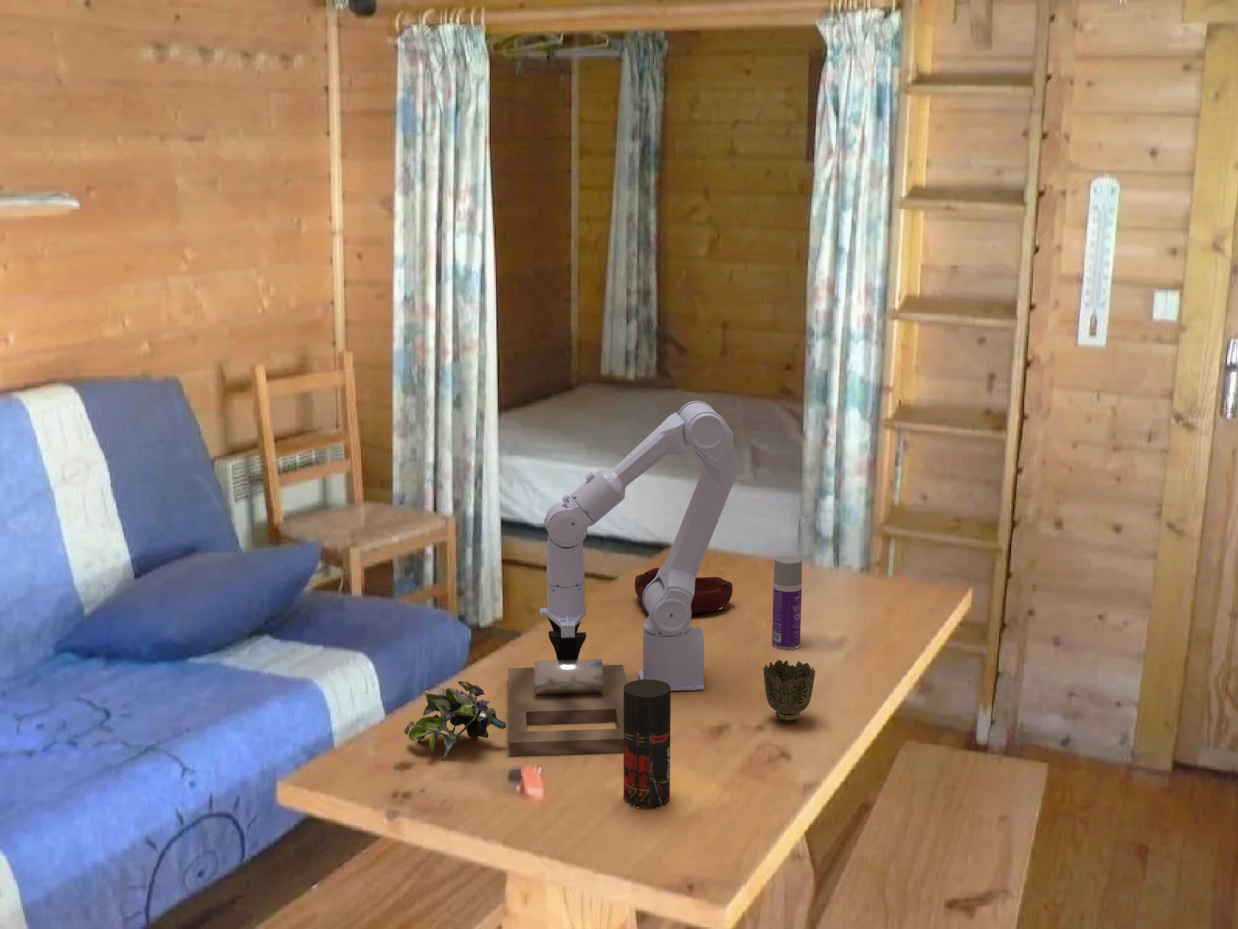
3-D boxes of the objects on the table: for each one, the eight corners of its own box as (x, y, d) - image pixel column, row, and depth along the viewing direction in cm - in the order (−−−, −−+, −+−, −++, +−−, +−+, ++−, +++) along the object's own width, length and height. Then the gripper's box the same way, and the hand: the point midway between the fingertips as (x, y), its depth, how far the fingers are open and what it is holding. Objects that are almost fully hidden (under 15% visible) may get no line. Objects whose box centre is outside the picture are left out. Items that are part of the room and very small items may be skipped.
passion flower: (473, 775, 194) (522, 712, 192) (441, 794, 184) (492, 728, 181) (415, 722, 197) (463, 659, 194) (381, 738, 186) (430, 672, 184)
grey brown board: (622, 676, 216) (622, 664, 216) (640, 751, 189) (640, 738, 188) (508, 680, 215) (508, 668, 214) (509, 756, 187) (508, 742, 187)
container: (798, 650, 227) (801, 564, 224) (770, 648, 228) (772, 562, 225) (801, 641, 232) (803, 556, 228) (773, 639, 233) (775, 554, 229)
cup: (818, 714, 202) (819, 662, 200) (808, 733, 195) (809, 680, 193) (768, 707, 204) (769, 656, 202) (756, 726, 197) (758, 674, 195)
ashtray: (608, 612, 247) (608, 586, 246) (658, 589, 260) (658, 564, 259) (692, 631, 237) (692, 604, 236) (739, 606, 250) (740, 580, 249)
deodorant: (621, 788, 178) (621, 680, 175) (667, 787, 178) (667, 678, 175) (625, 810, 172) (625, 697, 169) (672, 808, 173) (673, 696, 169)
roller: (600, 662, 207) (602, 656, 203) (601, 695, 206) (603, 690, 201) (534, 663, 207) (534, 658, 202) (534, 697, 205) (535, 692, 200)
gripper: (538, 568, 215) (539, 650, 218) (540, 597, 201) (541, 684, 204) (583, 567, 215) (584, 649, 218) (588, 596, 201) (588, 683, 204)
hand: (566, 666), depth 211 cm, fingers open, 7 cm apart
